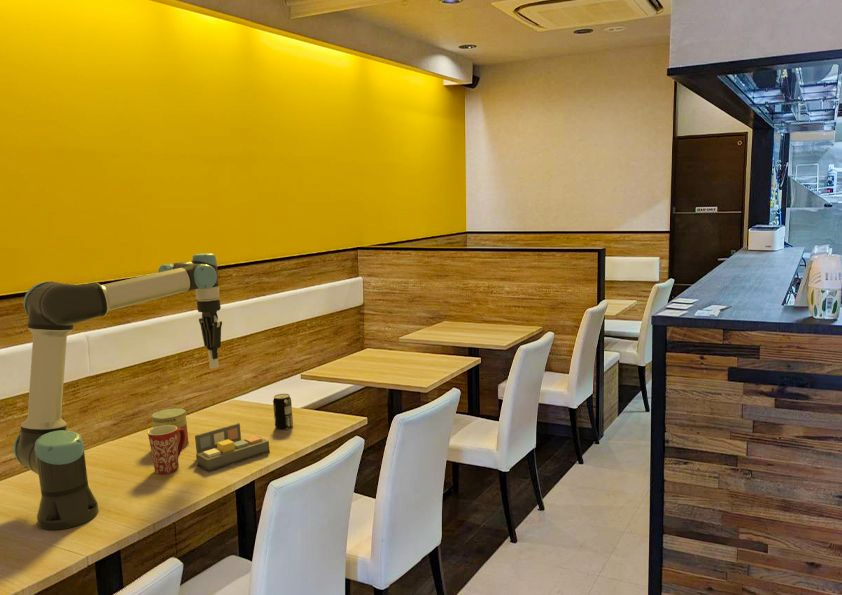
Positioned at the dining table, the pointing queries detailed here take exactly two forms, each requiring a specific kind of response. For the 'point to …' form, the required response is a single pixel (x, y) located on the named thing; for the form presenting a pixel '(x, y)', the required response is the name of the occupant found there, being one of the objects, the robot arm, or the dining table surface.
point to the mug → (165, 447)
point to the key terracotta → (253, 440)
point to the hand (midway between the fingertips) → (214, 367)
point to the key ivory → (211, 453)
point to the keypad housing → (232, 456)
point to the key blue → (240, 444)
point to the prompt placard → (217, 437)
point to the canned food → (172, 421)
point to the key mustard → (225, 446)
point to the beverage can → (283, 411)
